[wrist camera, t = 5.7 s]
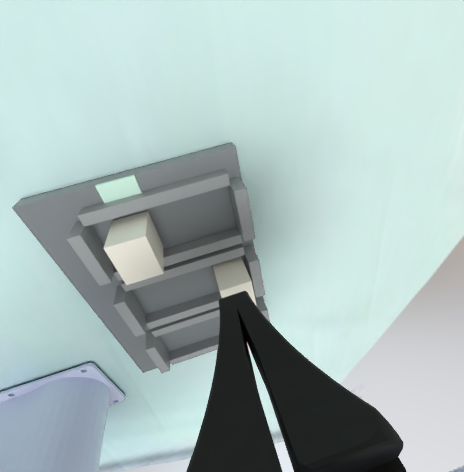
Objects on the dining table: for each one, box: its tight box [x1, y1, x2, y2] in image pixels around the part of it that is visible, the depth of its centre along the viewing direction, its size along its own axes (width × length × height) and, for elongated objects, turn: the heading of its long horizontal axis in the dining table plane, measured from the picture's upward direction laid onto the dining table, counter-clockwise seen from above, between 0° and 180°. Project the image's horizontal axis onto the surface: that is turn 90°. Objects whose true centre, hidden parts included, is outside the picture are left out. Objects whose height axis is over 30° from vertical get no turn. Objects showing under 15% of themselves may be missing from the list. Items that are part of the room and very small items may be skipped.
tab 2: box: [213, 256, 257, 306], centre depth 20 cm, size 2×3×3 cm
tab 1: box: [103, 211, 164, 285], centre depth 16 cm, size 2×3×3 cm
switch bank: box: [12, 143, 270, 373], centre depth 21 cm, size 14×20×3 cm
